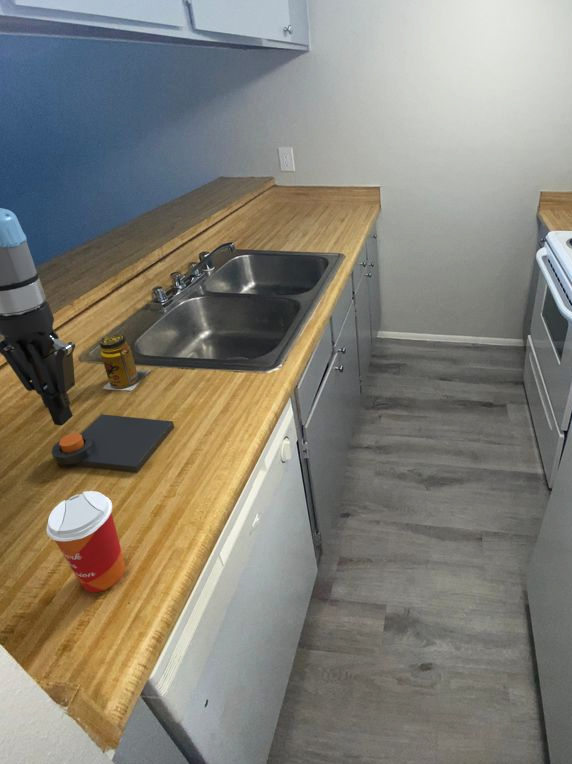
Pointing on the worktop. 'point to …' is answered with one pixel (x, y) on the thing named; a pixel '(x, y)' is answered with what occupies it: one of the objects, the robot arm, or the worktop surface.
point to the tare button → (71, 442)
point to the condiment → (120, 364)
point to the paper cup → (88, 539)
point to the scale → (116, 443)
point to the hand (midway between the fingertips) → (63, 420)
